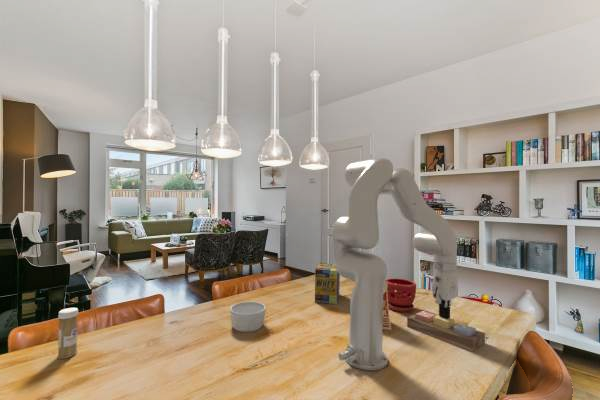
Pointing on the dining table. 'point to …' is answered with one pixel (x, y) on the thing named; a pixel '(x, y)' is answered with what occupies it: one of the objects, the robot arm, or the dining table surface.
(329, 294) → the protein box
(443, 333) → the wooden tile rack
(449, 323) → the tile
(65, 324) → the sprinkles bottle
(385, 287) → the milk carton
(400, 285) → the plant pot
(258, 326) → the ramekin
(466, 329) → the tile
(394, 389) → the dining table surface
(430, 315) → the three-pip tile
